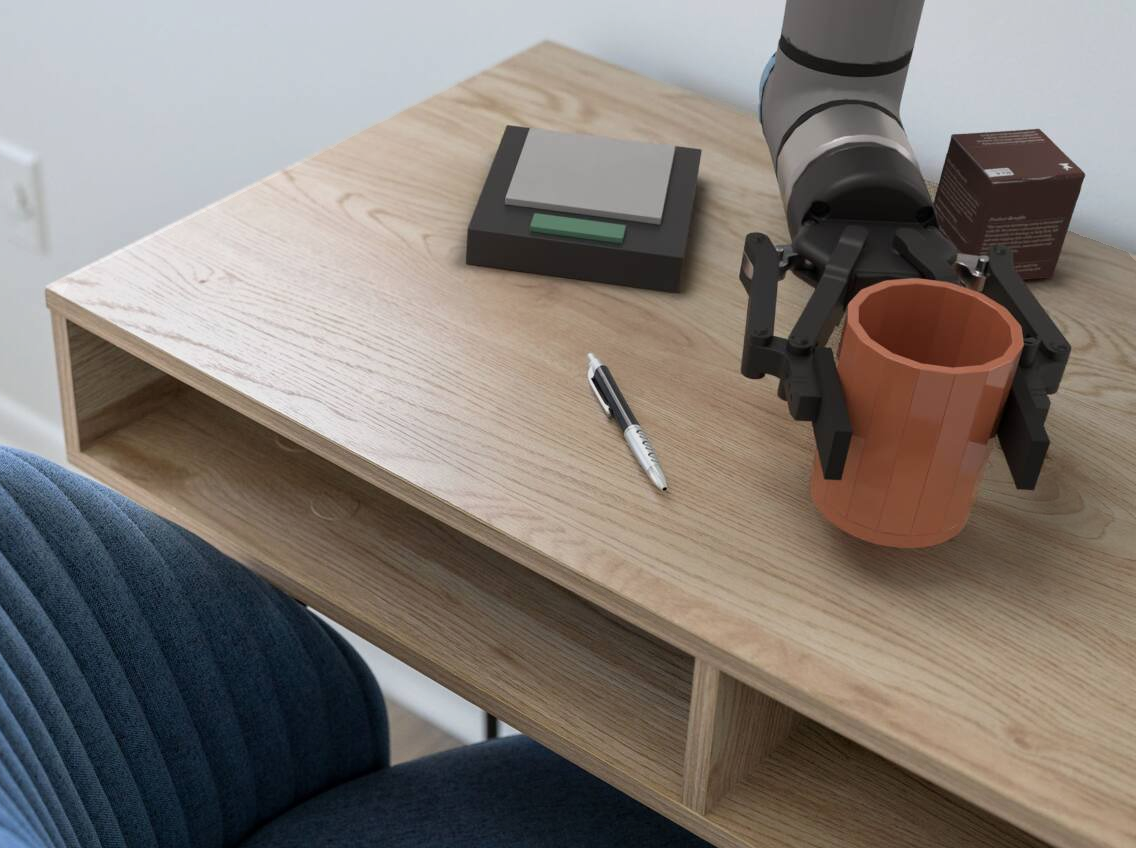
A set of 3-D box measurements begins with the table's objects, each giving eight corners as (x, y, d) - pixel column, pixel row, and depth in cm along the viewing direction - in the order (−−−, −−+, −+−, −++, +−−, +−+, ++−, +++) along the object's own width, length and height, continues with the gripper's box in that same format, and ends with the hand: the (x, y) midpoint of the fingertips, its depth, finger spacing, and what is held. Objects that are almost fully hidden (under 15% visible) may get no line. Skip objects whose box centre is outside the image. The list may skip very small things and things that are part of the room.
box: (1010, 231, 104) (1041, 126, 99) (1054, 281, 99) (1089, 174, 95) (921, 237, 103) (948, 132, 98) (962, 287, 98) (992, 180, 94)
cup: (965, 461, 81) (1016, 290, 74) (973, 559, 75) (1029, 383, 69) (811, 439, 82) (848, 268, 75) (807, 534, 76) (847, 359, 70)
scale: (696, 182, 108) (703, 141, 106) (678, 293, 97) (684, 250, 95) (504, 158, 110) (507, 117, 108) (465, 264, 99) (467, 221, 97)
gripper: (1027, 271, 91) (1148, 538, 73) (658, 253, 91) (688, 514, 73) (1064, 149, 86) (1202, 403, 68) (674, 132, 86) (710, 379, 69)
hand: (935, 460), depth 71 cm, fingers closed on cup, 8 cm apart
